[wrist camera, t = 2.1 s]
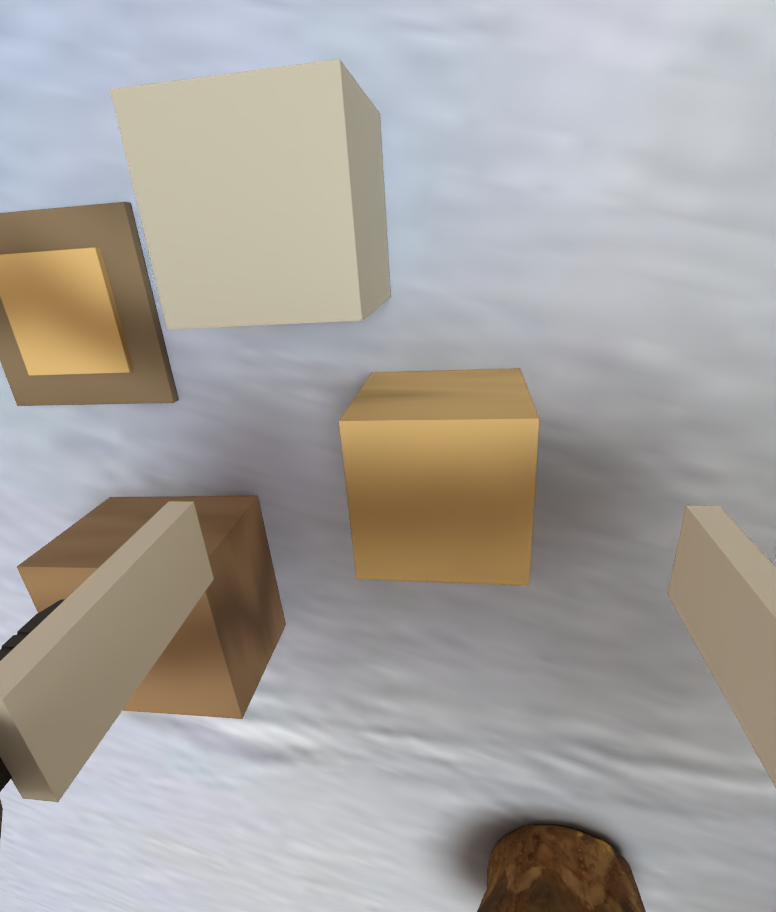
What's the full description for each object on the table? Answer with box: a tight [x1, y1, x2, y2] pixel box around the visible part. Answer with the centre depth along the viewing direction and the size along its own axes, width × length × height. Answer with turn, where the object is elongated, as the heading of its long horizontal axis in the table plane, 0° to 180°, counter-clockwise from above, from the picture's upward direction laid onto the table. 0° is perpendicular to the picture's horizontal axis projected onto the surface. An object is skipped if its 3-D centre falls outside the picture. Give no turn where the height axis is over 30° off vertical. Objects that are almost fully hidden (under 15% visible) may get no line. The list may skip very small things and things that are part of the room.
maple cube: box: [339, 368, 539, 586], centre depth 19 cm, size 6×6×6 cm
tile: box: [0, 202, 178, 406], centre depth 21 cm, size 8×8×1 cm
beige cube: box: [110, 59, 391, 330], centre depth 16 cm, size 6×6×6 cm
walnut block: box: [17, 496, 286, 719], centre depth 24 cm, size 8×8×6 cm
